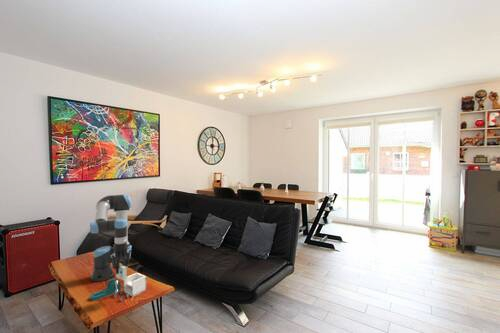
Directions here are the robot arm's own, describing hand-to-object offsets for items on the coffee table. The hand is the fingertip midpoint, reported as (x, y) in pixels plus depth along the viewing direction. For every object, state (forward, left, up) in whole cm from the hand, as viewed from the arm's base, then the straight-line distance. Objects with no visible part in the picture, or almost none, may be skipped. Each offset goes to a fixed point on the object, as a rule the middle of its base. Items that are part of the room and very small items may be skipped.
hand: (121, 276), depth 165 cm
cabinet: (0, +10, -14) cm, 17 cm away
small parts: (-1, 0, -14) cm, 14 cm away
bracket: (-14, -4, -15) cm, 20 cm away
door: (0, 0, -1) cm, 1 cm away
